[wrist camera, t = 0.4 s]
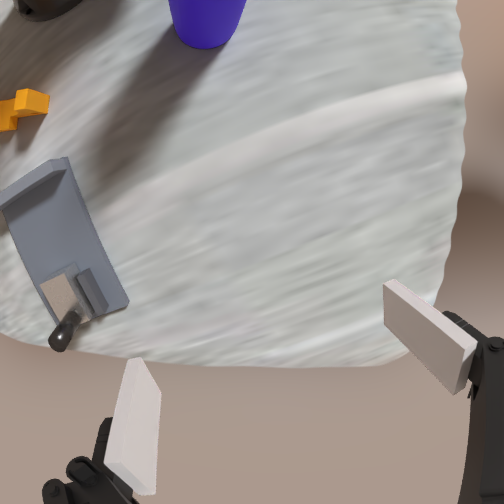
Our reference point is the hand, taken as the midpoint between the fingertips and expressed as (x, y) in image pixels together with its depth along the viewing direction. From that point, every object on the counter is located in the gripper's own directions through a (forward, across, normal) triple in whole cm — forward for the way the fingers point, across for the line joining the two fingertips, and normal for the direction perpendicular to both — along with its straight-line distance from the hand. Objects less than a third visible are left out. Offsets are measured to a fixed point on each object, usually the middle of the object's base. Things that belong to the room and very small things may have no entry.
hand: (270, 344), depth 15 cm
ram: (+25, -23, -2) cm, 34 cm away
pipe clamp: (+27, -25, +25) cm, 45 cm away
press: (+27, -24, +4) cm, 36 cm away
